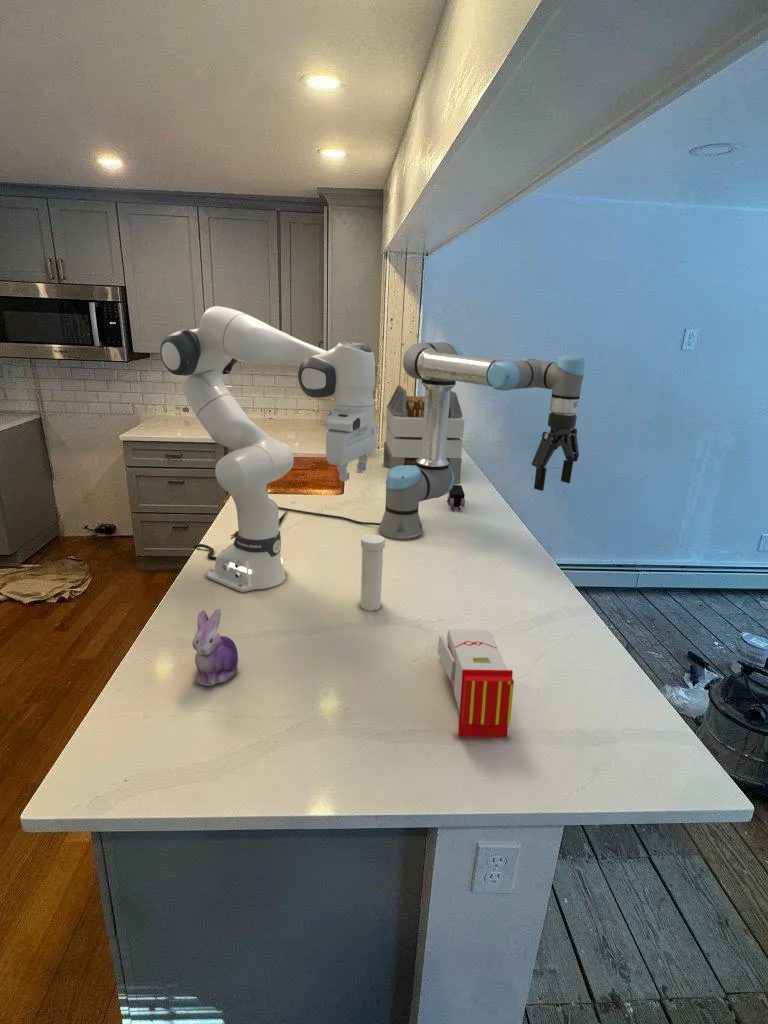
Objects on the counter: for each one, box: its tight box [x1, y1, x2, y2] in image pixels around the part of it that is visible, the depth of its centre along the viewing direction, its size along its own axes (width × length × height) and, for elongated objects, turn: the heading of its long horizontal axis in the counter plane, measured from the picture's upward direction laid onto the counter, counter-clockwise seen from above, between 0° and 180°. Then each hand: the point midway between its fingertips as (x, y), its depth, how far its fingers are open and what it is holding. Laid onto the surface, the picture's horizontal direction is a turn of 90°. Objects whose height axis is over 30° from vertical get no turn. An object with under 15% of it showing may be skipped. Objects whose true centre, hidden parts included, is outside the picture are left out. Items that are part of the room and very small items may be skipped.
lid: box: [360, 533, 386, 551], centre depth 145 cm, size 6×6×2 cm
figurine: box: [192, 608, 239, 687], centre depth 118 cm, size 9×10×15 cm
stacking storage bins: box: [383, 384, 465, 484], centre depth 268 cm, size 34×33×41 cm
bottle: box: [360, 547, 384, 611], centre depth 148 cm, size 5×5×19 cm
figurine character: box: [446, 484, 466, 511], centre depth 229 cm, size 7×8×15 cm
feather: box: [279, 510, 288, 526], centre depth 213 cm, size 2×28×2 cm
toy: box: [437, 628, 515, 738], centre depth 117 cm, size 12×13×30 cm
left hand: (353, 475), depth 133 cm, fingers open, 8 cm apart
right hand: (552, 485), depth 166 cm, fingers open, 13 cm apart
